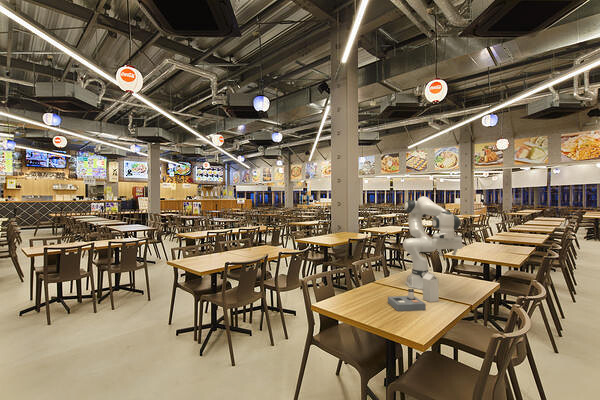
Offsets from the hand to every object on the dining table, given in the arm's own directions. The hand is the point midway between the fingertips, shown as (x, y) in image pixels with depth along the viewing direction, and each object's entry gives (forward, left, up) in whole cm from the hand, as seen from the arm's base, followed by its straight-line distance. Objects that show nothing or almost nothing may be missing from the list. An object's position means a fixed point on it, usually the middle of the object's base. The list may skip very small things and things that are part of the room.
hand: (447, 255), depth 197 cm
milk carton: (-3, -11, -31) cm, 33 cm away
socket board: (+6, -33, -31) cm, 46 cm away
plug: (+4, -28, -31) cm, 42 cm away
